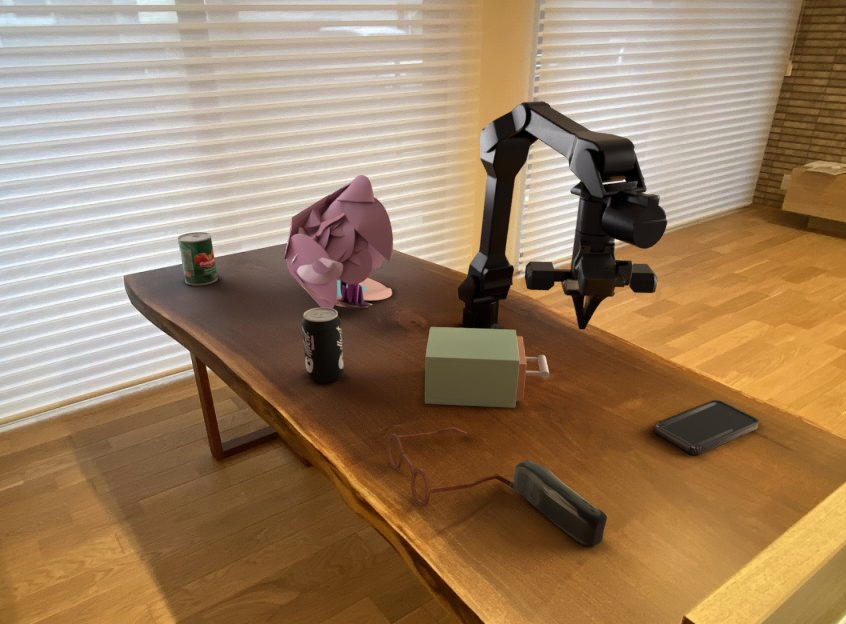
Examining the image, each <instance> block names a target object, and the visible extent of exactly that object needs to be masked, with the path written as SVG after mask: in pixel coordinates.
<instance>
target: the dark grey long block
mask: <svg viewBox="0 0 846 624" xmlns="http://www.w3.org/2000/svg"><path fill="white" fill-rule="evenodd" d="M514 467H515V468H514V472H513V473H514V474H513V481H511V483H510V484H509V485H507V486H508V487H510V488H511V489H512V490H514V491H515V492H516V493H518V494H519V495H520V496H521V497H522V498H523V499H524V500H526V501H528V502H529V503H530V505H532V507H534V508H535V509H536V510H538V511H539V512H541V513H542V514H543V515H544V516H545V517H547V518H548V519H549V520H550V521H551V522H552V523H553V524H554V525H556V526H557V527H558V528H559V529H561V531H563V532H564V533H566V534H567V535H568V536H569V537H570V538H571V539H573V540H574V541H575V542H576V543H578V544H580V545H582V546H586V547H594V546H595V547H596V546H597V545H599V544H601V543H602V541H603V538H604V533H605V528H606V525H607V520H608V517H607V514H606V513H605V512H604V511H603V510H602V509H600V508H599V507H597V506H595V505H593V504H592V503H591V502H589V500H586V498H584V497H583V496H582V495H580V494H579V493H578V492H577V491H575V490H574V489H572V488H571V487H569V486H568V485H567V484H566V483H564V482H563V481H562V480H561V479H560V478H559V477H558V476H556V475H555V473H553V472H552V471H551V470H550V469H548V468H547V467H546V466H544V465H542V464H539V463H536V462H533V461H531V460H529V459H525V460H523V461H521V462H519V463H517V464H516V466H514Z"/></svg>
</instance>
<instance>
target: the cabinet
mask: <svg viewBox="0 0 846 624" xmlns="http://www.w3.org/2000/svg"><path fill="white" fill-rule="evenodd" d="M429 327H430V328H429V332H428V339H427V345H426V352H425V358H424V360H425V361H424V362H425V363H424V364H425V367H424V371H425V372H424V404H426V405H428V404H429V405H447V406H468V407H470V406H471V407H487V408H488V407H489V408H490V407H492V408H509V409H510V408H511V409H515V408H516V405H517V404H516V403H517V401H516V394H517V383H518V373H519V362H520V360H519V352H518V345H517V337H516V336H517V330H516V329H507V328H506V329H505V328H504V329H503V328H502V329H477V328H464V327H450V326H449V327H448V326H447V327H445V326H444V327H443V326H429Z"/></svg>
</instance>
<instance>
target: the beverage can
mask: <svg viewBox="0 0 846 624" xmlns="http://www.w3.org/2000/svg"><path fill="white" fill-rule="evenodd" d="M301 330H302V331H301V332H302V341H303V353H304V363H305V372H306V377H307V378H308V379H310V381H311V382H313V383H316V384H319V385H320V384H324V385H326V384H327V385H328V384H332V383H335V382H337V381H339V380H340V379H341V377H342V376H343V375H344V373H345V369H344V366H345V365H344V353H343V352H344V351H343V350H344V349H343V336H342V335H343V334H342V321H341V318H340V317H339V314H338V310H336V309H334V308H333V309H332V308H327V307H320V306H319V307H314V308H310V309H307V310H306V311H304V312H303V319H302V321H301Z"/></svg>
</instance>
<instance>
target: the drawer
mask: <svg viewBox="0 0 846 624" xmlns="http://www.w3.org/2000/svg"><path fill="white" fill-rule="evenodd" d="M516 337H517V345H518V352H519V360H520V362H519V373H518V383H517V394H516V402H524V396H525V387H526V386H525V385H526V376H533V377H536V376H537V377H540V378H541V379H543V380H546V379H548V378H549V377H550V371H549V365H548V362H547V357H546V355H544V354H539V355H538V356H526V352H525V343H524V338H523V336H522V335H516ZM527 362H532V363H533V362H535V363H536V362H537V365H538V370H527V365H528V363H527Z"/></svg>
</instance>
